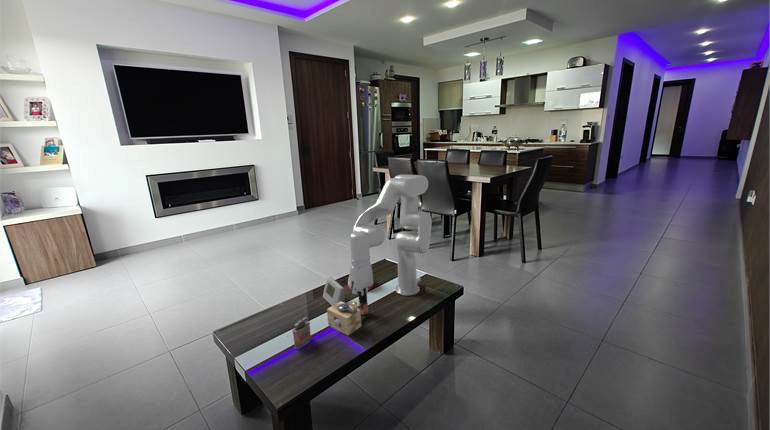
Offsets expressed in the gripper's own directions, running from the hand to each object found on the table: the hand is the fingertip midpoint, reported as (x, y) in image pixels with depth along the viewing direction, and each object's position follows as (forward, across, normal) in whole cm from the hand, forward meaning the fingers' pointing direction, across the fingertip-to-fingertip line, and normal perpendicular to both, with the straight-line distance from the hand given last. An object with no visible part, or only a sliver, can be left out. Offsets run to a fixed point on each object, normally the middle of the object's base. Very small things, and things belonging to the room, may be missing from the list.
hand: (363, 302), depth 135 cm
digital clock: (+11, -6, -26) cm, 28 cm away
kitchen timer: (+11, -27, -27) cm, 40 cm away
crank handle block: (+3, +5, -4) cm, 7 cm away
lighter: (+11, +23, -11) cm, 28 cm away
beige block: (+11, +5, -6) cm, 14 cm away
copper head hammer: (+10, +1, -6) cm, 12 cm away
